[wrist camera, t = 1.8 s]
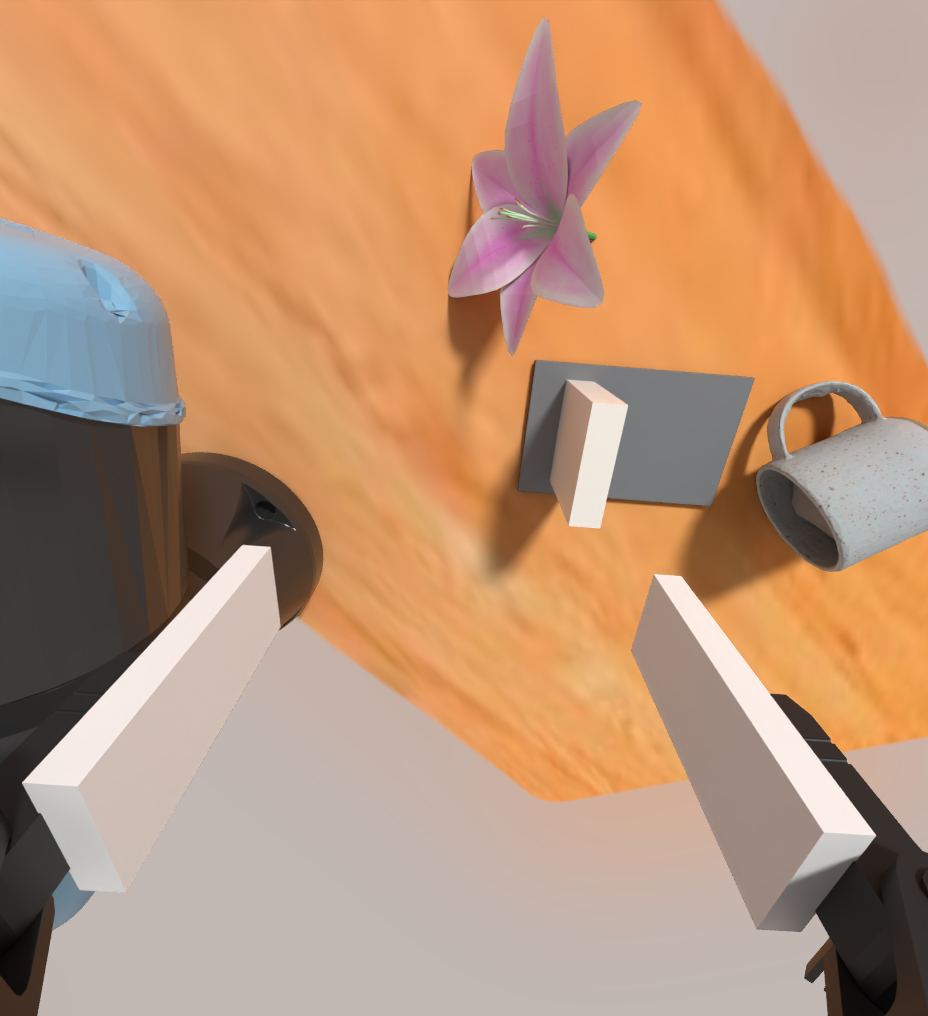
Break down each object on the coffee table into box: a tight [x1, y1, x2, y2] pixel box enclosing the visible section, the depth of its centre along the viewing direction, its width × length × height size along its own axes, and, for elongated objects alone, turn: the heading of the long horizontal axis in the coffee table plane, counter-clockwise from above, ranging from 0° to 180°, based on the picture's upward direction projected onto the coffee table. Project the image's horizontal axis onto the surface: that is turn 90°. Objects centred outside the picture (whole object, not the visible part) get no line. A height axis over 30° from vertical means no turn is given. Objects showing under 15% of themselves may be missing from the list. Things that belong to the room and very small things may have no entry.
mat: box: [518, 360, 755, 506], centre depth 31 cm, size 14×9×1 cm, turn 86°
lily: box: [448, 18, 642, 356], centre depth 23 cm, size 12×12×10 cm
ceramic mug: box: [756, 381, 928, 572], centre depth 28 cm, size 11×8×8 cm
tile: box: [550, 380, 628, 528], centre depth 27 cm, size 2×7×7 cm, turn 176°
